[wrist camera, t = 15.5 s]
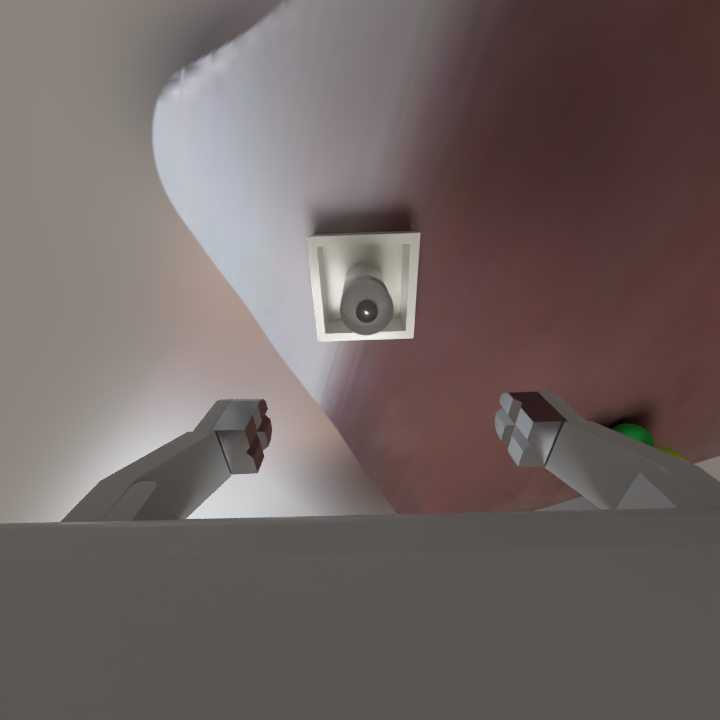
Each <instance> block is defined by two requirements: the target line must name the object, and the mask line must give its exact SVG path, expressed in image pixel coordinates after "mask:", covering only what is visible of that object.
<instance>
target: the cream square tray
mask: <svg viewBox="0 0 720 720" xmlns="http://www.w3.org/2000/svg"><path fill="white" fill-rule="evenodd" d="M306 240H307V248H308V257H309V266H310V275H311V284H312V293H313V302H314V311H315V320H316V329H317V337H318V341H347V340H375V339H404V338H413V336H414V321H415V306H416V291H417V276H418V260H419V245H420V233H419V232H414V231H386V232H357V233H329V234H312V235H310V236H307V237H306ZM360 263H366V264H370V265H372V266H374V267H375V268H377V270H378V271H379V272H380V274H381V276H382V279H383V281H384V283H385V285H386V287H387V290H388V292H389V294H390V296H391V299H392V301H393V307H394V311H393V316H392V319H391V321H390V323H389V324H388V325H387V326H386V328H384V329H383V330H382V331H380V332H378V333H376V334H373V335H360V334H357V333H354V332H352V331H351V330H350V329H348V328H347V327H346V326H345V324H344V323H343V321H342V319H341V315H340V303H341V298H342V292H343V286H344V281H345V276H346V274H347V272H348V271H349V270H350V269H351V268H352V267H353V266H355V265H357V264H360Z"/></svg>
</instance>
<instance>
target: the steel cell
mask: <svg viewBox="0 0 720 720" xmlns="http://www.w3.org/2000/svg"><path fill="white" fill-rule="evenodd" d="M393 311H394V307H393V301H392V299H391V296H390V294H389V292H388V290H387V287H386V285H385V283H384V281H383V279H382V276H381V274H380V272H379V271H378V270H377V268H375V267H374V266H372V265H370V264H366V263H360V264H357V265H355V266H353V267H352V268H351V269H350V270H349V271H348V272H347V274H346V276H345V281H344V286H343V292H342V298H341V303H340V315H341V319H342V321H343V323H344V324H345V326H346V327H347V328H348V329H350V330H351V331H352V332H354V333H357V334H360V335H373V334H376V333H378V332H380V331H382V330H383V329H384V328H386V326H387V325H388V324H389V323H390V321H391V319H392V316H393Z"/></svg>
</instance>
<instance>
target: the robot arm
mask: <svg viewBox="0 0 720 720" xmlns="http://www.w3.org/2000/svg"><path fill="white" fill-rule="evenodd" d="M499 403H500V405H501V407H502V408H501V409H500V410H499V411H498V412H497V413H496V417H495V429H496V432H497V434H498V436H499V438H500V439H501V441H503V442H505V443H506V444H508V445H509V447H508V452H509V454H510V455H511V457H512V458H513V460H514V461H515V463H516V464H517V466H518V467H545V468H546V469H547V470H549V471H550V472H551V473H553V474H554V475H555V476H557V477H558V478H560V479H561V480H562V481H564V482H565V483H566V484H568V485H569V486H570V487H572V488H573V489H574V490H576V491H577V492H578V493H580V494H581V495H583V496H584V497H585V498H587V499H588V500H589V501H591V502H592V503H593V504H595V505H596V506H597V507H599V508H600V509H601V510H563V511H520V512H477V513H434V514H391V515H351V516H350V515H349V516H307V517H266V518H265V517H264V518H223V519H186V518H187V517H188V516H189V515H190V514H191V513H192V512H193V511H194V510H195V509H196V508H197V507H199V506H200V505H201V504H202V503H203V502H204V501H205V500H206V499H207V498H208V497H209V496H210V495H211V494H212V493H213V492H214V491H216V490H217V489H218V488H219V487H220V486H221V485H222V484H223V483H224V482H225V481H226V480H227V479H228V478H229V477H230V476H231V474H249V473H258V471H259V468H260V466H261V463H262V461H263V458H264V454H263V450H264V449H265V448H267V447H268V445H269V443H270V440H271V434H272V426H271V421H270V419H269V418H268V417H267V416H266V415H265V414H266V411H267V409H268V408H267V405H266V401H265V400H263V399H227V400H226V399H225V400H218V401H216V403H215V404H214V405H213V407H212V408H211V409H210V410H209V412H208V413H207V414H206V415H205V417H204V418H203V419H202V421H201V422H200V423H199V424H198V426H197V427H196V428H195V429H194V431H193V432H187V433H185V434H183V435H182V436H180V437H178V438H176V439H174V440H173V441H171V442H169V443H167V444H165V445H164V446H162V447H160V448H158V449H157V450H155V451H153V452H151V453H149V454H148V455H146V456H144V457H142V458H140V459H139V460H137V461H135V462H133V463H132V464H130V465H128V466H126V467H124V468H123V469H121V470H119V471H117V472H115V473H114V474H112V475H110V476H109V477H107V478H105V479H103V480H101V481H100V482H99V483H98V484H97V485H96V486H95V487H94V488H93V489H92V490H91V491H90V492H89V493H88V494H87V495H86V496H85V497H84V499H82V500H81V501H80V502H79V503H78V504H77V505H76V506H75V507H74V509H72V510H71V511H70V513H69V514H67V516H66V517H65V518H64V519H63V520H62V521H61V522H54V523H53V522H52V523H8V524H0V720H720V482H719V481H717V480H716V479H715V478H713V477H712V476H711V475H709V474H708V473H706V472H705V471H704V470H703V469H701V468H700V467H698V466H696V465H694V464H691V463H689V462H687V461H684V460H682V459H679V458H677V457H675V456H672V455H670V454H668V453H665V452H663V451H661V450H658V449H656V448H654V447H651V446H649V445H647V444H644V443H642V442H640V441H637V440H635V439H633V438H630V437H628V436H625V435H623V434H621V433H618V432H616V431H614V430H611V429H609V428H607V427H604V426H602V425H600V424H597V423H595V422H593V421H586V420H585V419H584V418H582V417H581V416H580V415H579V414H578V413H577V412H576V411H575V410H573V409H572V408H571V407H570V406H569V405H568V404H567V403H566V402H564V401H563V400H562V399H561V398H560V397H559V396H558V395H557V394H555V393H554V392H552V391H549V390H547V391H533V392H511V393H503V394H502V396H501V398H500V401H499Z"/></svg>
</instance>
